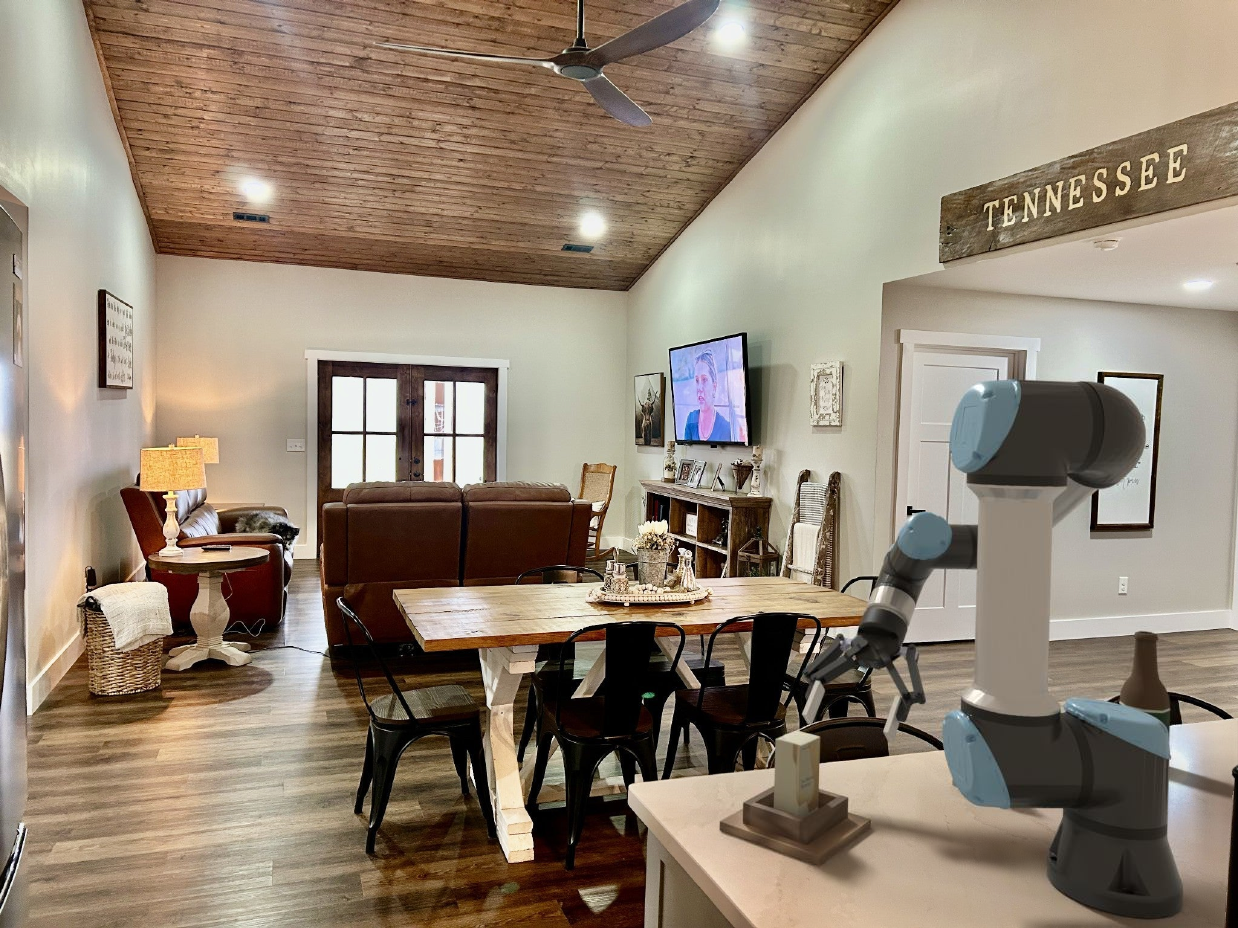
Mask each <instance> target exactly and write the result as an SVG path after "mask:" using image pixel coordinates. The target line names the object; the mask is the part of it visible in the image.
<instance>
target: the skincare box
mask: <svg viewBox="0 0 1238 928" xmlns="http://www.w3.org/2000/svg"><path fill="white" fill-rule="evenodd" d="M774 748H775V749H774V750H775V752H774V753H775V754H774V782H773V786H774V809H776V810H779V811H782V812H786V813H789V814H792V815H795V816H798V817H801V818H805V817H807V816H809V815H810V814H812V813H813V812H815V811H816V810H818V801H819V789H820V764H821V763H820V758H821V757H820V755H821V754H820V753H821V736H819V735H815V734H813V733H807V732H804V731H800V730H793V731H791V732H789V733H785V734H783V735H782V736H779V737H777V738H775V746H774Z"/></svg>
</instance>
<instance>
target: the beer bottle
mask: <svg viewBox="0 0 1238 928" xmlns="http://www.w3.org/2000/svg"><path fill="white" fill-rule="evenodd" d="M1158 637H1159V636H1158V635H1157V633H1155V632H1152V631H1144V630H1139V631H1135V632H1134V634H1133V638H1134V639H1135V643H1134V650H1133V651H1134V652H1133V653H1134V654H1133V663H1132V670H1131V675H1130V676H1129V677H1128V678H1127V680H1125V681H1124V683H1123V686H1122V687H1121V689H1120V692H1119V693H1120V694H1119V702H1118V703H1119V705H1123V706H1126V707H1130V708H1133V709H1136V710H1139V711H1142V712H1144V713H1147V714H1149V715H1151V716H1153V717H1155V718H1157V719H1158V720H1160V721H1161V722H1162V723H1163V724H1164V725H1165V726H1166V728H1167V730H1168V733H1169V737H1171V735H1170V734H1171V733H1170V729H1171V728H1170V727H1171V723H1170V722H1171V702H1170V695H1169V692H1168V690H1167V688H1166V687H1165V685H1164V684H1163V682H1162V681H1161V679H1160V676H1159V670H1158V669H1159V668H1158V652H1157V650H1158V649H1157V641H1159V638H1158Z"/></svg>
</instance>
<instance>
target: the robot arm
mask: <svg viewBox="0 0 1238 928" xmlns="http://www.w3.org/2000/svg"><path fill="white" fill-rule="evenodd" d="M1146 441H1147V430H1146V425H1145V421H1144V417H1143V416H1142V414H1141V411H1140V409H1139V408H1138V407H1137V405H1136V404H1135V403H1134V402H1133V400H1132V399H1131V398H1130V397H1128V395H1126V394H1125V393H1123V392H1122V391H1120V390H1119V389H1117V388H1115V387H1113V386H1110V385H1108V384H1105V383H1101V382H1096V381H1086V380H1085V381H1084V380H1082V381H1081V380H1080V381H1062V380H1061V381H1060V380H1059V381H1058V380H1038V379H1036V380H1035V379H1031V380H1030V379H1010V378H1009V379H1002V380H985V381H981V382H978V383H975V384H974V385H972V386H971V387H970V388H969V389H968V390H967V391H966V392H965V393H964V394H963V395H962V397H961V399H960V401H959V402H958V404H957V407H956V409H955V412H954V415H953V418H952V421H951V425H950V432H949V448H948V449H949V453H950V454H951V455H950V456H951V457H950V459H951V462H952V465H953V466H954V467H955V469H957V470H958V471H960V472H962V473H965V474H966V487H968V488H969V490H970V491H971V492H972V493H973V494H974V495H975V496H976V497H977V499H978V510H977V511H978V514H977V515H978V517H977V524H961V523H960V524H957V523H956V524H955V523H954V524H950V523H948V521H947V520H946V519H945V518H944V517H942V516H941V515H937V514H935V513H933V512H929V511H922V512H921V511H920V512H916V513H915V514H913V515H911V516H910V517H909V518H908V520H907V521H906V522H905V523H904V525H903V526H902V527H901V528H900V529H899V532H898V535H897V538H896V540H895V542H894V543H893V544H892V545H890V546H889V549H888V551H887V552H886V555H885V556H884V558H883V564H882V566H881V569H880V572H879V574H878V577H877V580H876V582H875V585H874V588H873V590H872V592H871V595H870V596H869V599H868V602H867V604H866V607H865V611H864V613H863V615H862V617H861V619H860V623H859V624H858V627H857V632H856V635H855V636H854V637H852V638H848V637H845V636H844V634H843V633H838V634H837V635H836V636H835V638H834V639H833V641H832V643H831V644H830V645H829V646H828V647H827V648H826V649H825V650H824V651H823V652H822V653H820V654H819V655H818V656H817V657H816V658H814V660H813V661H811V663H809V665H808V666H806V667H805V668H804V669H803V670H802V674H803V677H804V678H805V680H806V682H807V683H808V684H809V685H808V686H807V690H806V692H805V695H804V696H805V697H804V698H805V699H806V704H805V706H804V709H803V710H802V713H801V715H802V716H803V717H802V718H804V720H805V721H806V724H808V725H813V722H814V720H815V717H816V715H817V713H818V710H819V707H820V705H821V702H822V699H823V698H824V695H825V693H826V690H825V688H824V686H826V685H828V684H829V683H831V682H833V681H834V680H835V679H838V678H839V677H841V676H842V675H843V674H845V673H847V672H848V671H850V670H852V669H853V670H855V669H857V668H859V667H860V666H861V667H862V668H866V669H867V668H871V669H875V670H879V671H881V669H884V668H886V670H887V672H888V674H889V676H890V677H891V679H892V681H893V682H894V685H895V687H896V688H897V690H898V692H899V694H900V695H895V696H894V699H893V702H892V705H891V708H890V710H889V714H888V716H887V720H886V723H885V725H884V728H883V731H882V732H883V734H884V736H885V738H886V740H887V742H891V743H894V740H895V739H896V738H895V737H896V734H897V731H898V728H899V727H900V726H899V725H900V723H905V722H906V721H907V720H908V716H909V713H910V710H911V707H912V706H913V705H914V704H919V705H925V704H926V702H927V700H926V696H925V690H924V686H923V683H922V679H921V674H920V669H919V666H918V665H919V664H918V662H919V656H920V654H919V652H918V649H917V647H916V645H915V644H914V643H909V644H908V645H907V646H903V644H904V641H905V638H906V635H907V633H908V628H909V626H910V623H911V621H912V618H913V615H914V612H915V609H916V607H917V603H918V600H919V598H920V596H921V593H922V590H923V589H924V585H925V584H926V583H927V580H928V579H929V577H930V576H931V574H932V573H933V572H934V570H971V571H974V570H976V588H975V589H976V591H975V592H976V593H975V596H976V597H975V624H974V625H975V628H974V630H975V632H974V633H975V634H974V665H973V666H974V671H973V682H972V683H971V684H970V685H969V686H967V687H966V688H965V689H964V690H963V691H962V692H961V693H960V709H959V710H958V709H953V710H952V711H949V712H947V713H946V715H944V720H943V722H942V728H941V729H942V731H941V732H942V734H941V736H942V746H943V749H944V750H943V751H944V756H945V760H946V765H947V767H948V771H949V773H950V774H951V777H952V778H953V780H954V782H955V784H956V786H957V787H956V786H955V787H956V788H957V789H958V791H959V793H960V794H961V795H962V796H963V798H964V799H966V800H967V801H968V802H969V803H971V804H973V805H975V806H977V807H984V808H999V809H1000V810H1007V811H1008V810H1009V809H1062V817H1061V821H1060V823H1059V826H1058V828H1057V830H1056V833H1055V835H1054V836H1053V837H1054V838H1053V840H1052V842H1051V845H1050V848H1049V850H1048V852H1047V856H1046V877H1047V879H1048V881H1049V882H1050V883H1051V884H1052V885H1053V886H1054V887H1055V888H1056V890H1057V889H1058V890H1059V891H1060V892H1061V893H1063V894H1065V895H1066V896H1068V897H1069V898H1072V900H1076V901H1078V902H1080V903H1081V904H1084V905H1087V906H1089V907H1091V908H1094V909H1096V910H1097V909H1098V910H1101V911H1104V912H1107V913H1113V914H1116V915H1120V916H1126V917H1132V918H1133V917H1134V918H1143V919H1158V918H1165V917H1171V916H1173V915H1175V914H1177V913H1179V912H1180V911H1181V910H1182V908H1183V903H1184V885H1183V882H1182V879H1181V877H1180V874H1179V871H1178V866H1177V864H1176V861H1175V857H1174V855H1173V854H1174V853H1173V852H1172V848H1171V846H1170V842H1169V840H1168V825H1169V824H1168V823H1169V794H1170V793H1169V792H1170V791H1169V786H1170V785H1169V783H1170V760H1172V754H1171V747H1170V736H1169V733H1168V730H1167V728H1166V726H1165V725H1164V724H1163V723H1162V722H1161V721H1160V720H1158V719H1157V718H1155V717H1153V716H1151V715H1149V714H1147V713H1144V712H1142V711H1139V710H1136V709H1133V708H1130V707H1126V706H1123V705H1119V704H1118V703H1116V702H1115V703H1114V702H1110V701H1105V700H1102V699H1101V700H1100V699H1096V698H1089V697H1070V698H1067V699H1066V700H1065V704H1064V705H1063V710H1064V712H1062V711H1061V710H1062V707H1061V704H1060V702H1058V700H1056V698H1055V697H1054V696H1053V695H1052V694H1051V693H1050V692H1049V689H1048V688H1049V687H1048V686H1049V656H1050V655H1049V654H1050V651H1049V650H1050V622H1051V621H1050V616H1051V588H1052V586H1051V581H1052V579H1051V578H1052V577H1051V576H1052V547H1053V546H1052V545H1053V544H1052V543H1053V529H1054V528H1055V527H1056V526H1057V525H1059V523H1060V522H1062V521H1063V520H1064V519H1065V518H1067V517H1068V516H1069V515H1070V514H1071V513H1072V512H1073V511H1075V510H1076V509H1077V508H1079V506H1080V505H1082V504H1083V503H1084V502H1085V501H1086V500H1087V499H1089V497H1091V496H1092V495H1093V494H1094V493H1095V492H1096V491H1098V490H1106V489H1109V488H1111V487H1114V486H1115V485H1117V484H1119V483H1120V482H1121V481H1122V480H1123V479H1124V478H1126V476H1128V474H1130V472H1131V471H1132V470H1134V468H1135V467H1136V466H1137V465H1138V463H1139V461H1140V459H1141V458H1142V456H1143V453H1144V450H1145V446H1146V443H1147V442H1146ZM901 656H902V657H903V660H905V661H906V663H907V669H908V674H909V677H910V681H911V686H912V690H913V691H909V689H908V688H907V686H906V684H905V682H904V681H903V679H902V677H901V675H900V673H899V671H898V670H897V667H896V666H895V664H894V662H895V661H896V660H898V658H900V657H901ZM854 657H855V659H853V658H854Z"/></svg>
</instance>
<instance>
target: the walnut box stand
mask: <svg viewBox="0 0 1238 928" xmlns="http://www.w3.org/2000/svg"><path fill="white" fill-rule="evenodd" d="M871 828H872V818H868V817H864V816H861V815H858V814H855V813H852V812H849V796H844V795H841V794H838V793H835V792H831V791H827V790H825V789H823V788H819V801H818V810H816V811H815V812H813V813H812V814H810V815H809V816H807V817H805V818H801V817H798V816H795V815H792V814H789V813H786V812H782V811H779V810H776V809H774V785H773V786H771V787H769V788H768V789H766V790H764V791H762V792H760V793H758V794H757V795H754V796H753V797H751V798H749V799H747V800H745V801H743V802H742V808H741V809H740V810H738V811H736V812H734V813H732V814H730V815H728V816H726V817H724V818H723V819H721V820H720V821H719V830H721V831H723V832H726V833H729V834H731V835H734V836H737V837H740V838H741V839H746V840H748V841H750V842H754V843H757V845H758V844H760V845H762V846H763V847H767V848H770V849H772V850H775V851H778V852H781V853H783V854H787V855H789V856H791V857H795V858H797V859H800V860H803V861H805V862H808V863H811V864H815V865H817V866H820V865H821V864H823V863H824V862H826V861H827V860H829V859H830V858H831V857H833V856H834V855H835V854H837V853H838V852H839V851H840V850H842V849H843V848H845V847H846V846H847V845H849V844H851V842H853V841H854V840H856V839H857V838H858V837H860V836H861V835H863V834H864V833H865V832H867V831H868V830H869V829H871Z"/></svg>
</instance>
